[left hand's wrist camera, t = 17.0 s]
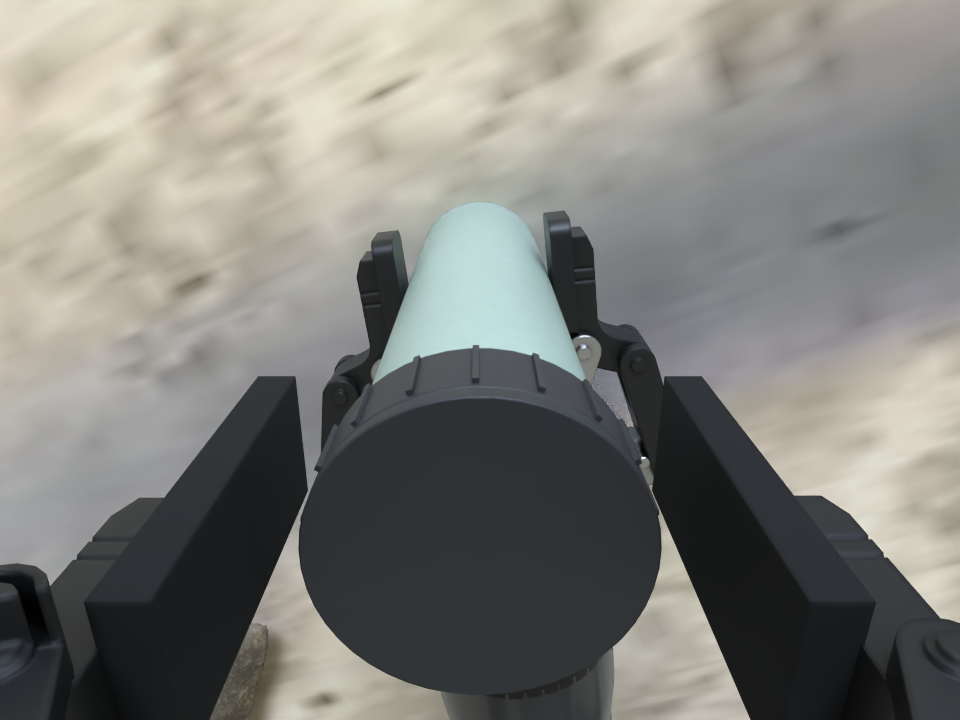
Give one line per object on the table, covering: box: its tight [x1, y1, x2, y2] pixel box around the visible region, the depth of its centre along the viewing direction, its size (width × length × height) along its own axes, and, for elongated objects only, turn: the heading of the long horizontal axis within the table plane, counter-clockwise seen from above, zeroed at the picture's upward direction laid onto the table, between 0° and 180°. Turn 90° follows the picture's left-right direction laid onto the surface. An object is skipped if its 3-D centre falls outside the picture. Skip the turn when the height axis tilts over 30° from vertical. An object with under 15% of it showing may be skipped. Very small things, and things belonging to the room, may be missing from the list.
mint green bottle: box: [372, 202, 586, 385], centre depth 20 cm, size 5×5×19 cm
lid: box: [299, 345, 661, 695], centre depth 11 cm, size 6×6×2 cm
